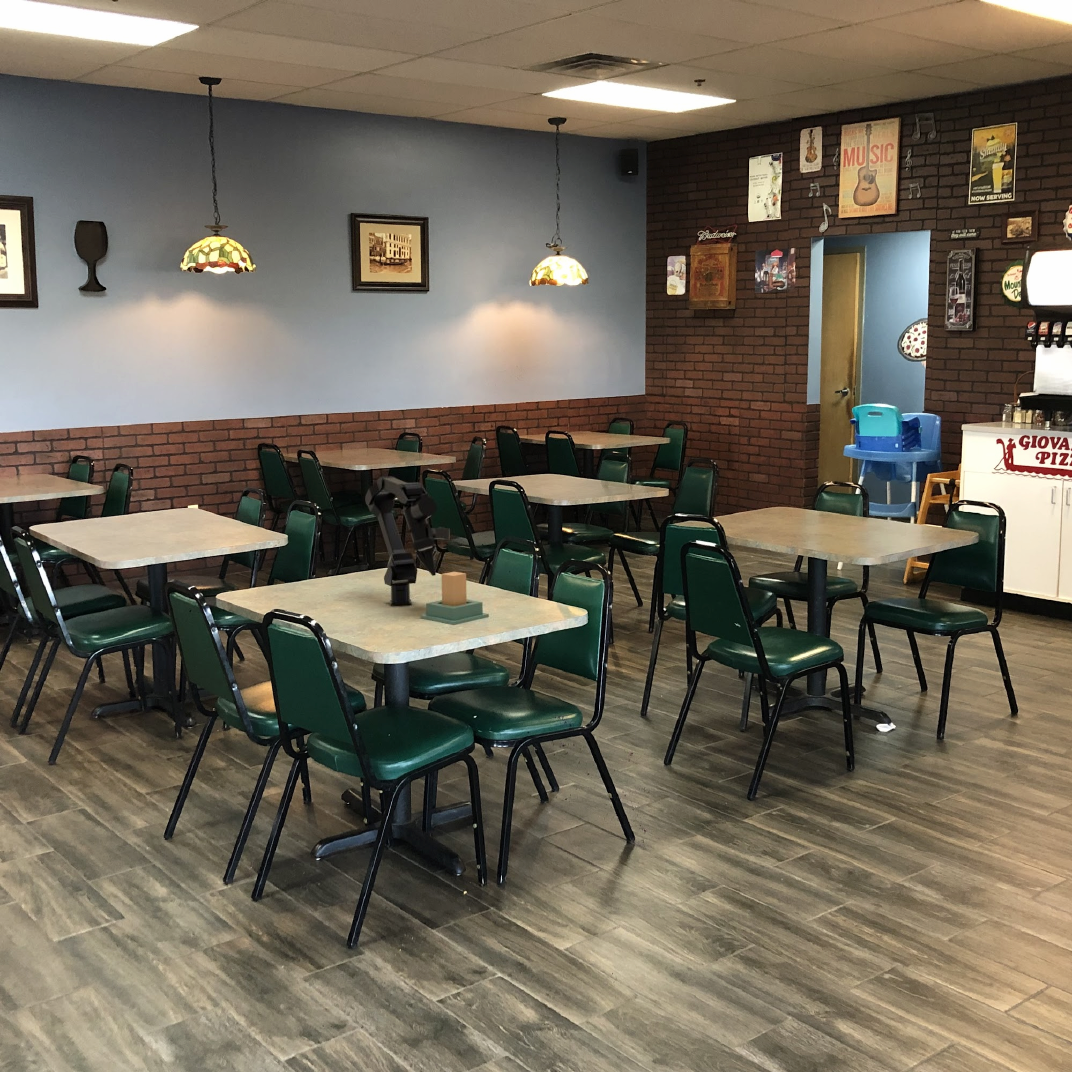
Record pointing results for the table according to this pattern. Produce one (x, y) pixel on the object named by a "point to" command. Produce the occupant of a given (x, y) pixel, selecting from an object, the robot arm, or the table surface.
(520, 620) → the table surface
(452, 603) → the plug
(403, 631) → the table surface
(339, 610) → the table surface
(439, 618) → the socket housing
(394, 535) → the robot arm
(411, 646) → the table surface
